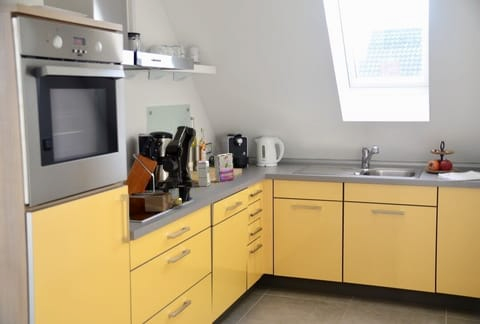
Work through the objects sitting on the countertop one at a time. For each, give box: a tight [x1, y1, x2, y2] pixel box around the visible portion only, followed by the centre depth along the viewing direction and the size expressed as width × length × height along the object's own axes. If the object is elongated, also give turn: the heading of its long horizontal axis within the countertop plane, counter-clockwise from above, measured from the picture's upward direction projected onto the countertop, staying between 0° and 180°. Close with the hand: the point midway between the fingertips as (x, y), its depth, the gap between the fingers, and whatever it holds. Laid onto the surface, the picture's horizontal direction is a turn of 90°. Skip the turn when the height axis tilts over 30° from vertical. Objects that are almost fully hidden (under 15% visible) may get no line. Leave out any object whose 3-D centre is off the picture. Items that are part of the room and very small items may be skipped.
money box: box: [144, 192, 173, 213], centre depth 283 cm, size 11×9×7 cm
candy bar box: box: [213, 152, 235, 183], centre depth 364 cm, size 11×5×16 cm, turn 131°
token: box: [172, 197, 183, 207], centre depth 293 cm, size 5×5×3 cm
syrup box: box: [196, 160, 211, 187], centre depth 349 cm, size 6×6×14 cm
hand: (176, 201), depth 293 cm, fingers open, 9 cm apart
